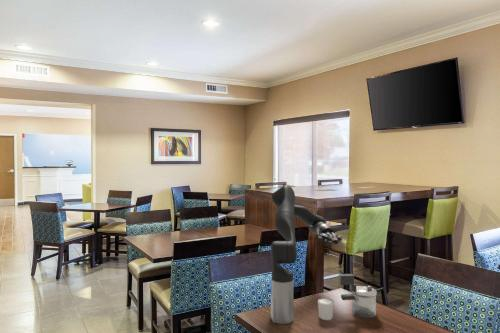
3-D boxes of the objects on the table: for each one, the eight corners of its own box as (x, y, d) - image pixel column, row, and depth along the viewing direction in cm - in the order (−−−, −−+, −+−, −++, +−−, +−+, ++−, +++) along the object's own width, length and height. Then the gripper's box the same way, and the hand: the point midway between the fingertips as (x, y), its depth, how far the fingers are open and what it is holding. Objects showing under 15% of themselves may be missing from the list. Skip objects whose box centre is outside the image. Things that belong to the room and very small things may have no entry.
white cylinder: (334, 321, 153) (334, 304, 153) (317, 320, 154) (317, 303, 154) (333, 314, 160) (333, 298, 159) (317, 313, 161) (317, 297, 161)
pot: (346, 319, 155) (346, 298, 155) (338, 309, 165) (338, 289, 165) (380, 317, 156) (380, 296, 156) (369, 308, 166) (369, 288, 166)
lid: (343, 297, 154) (343, 279, 154) (335, 289, 165) (335, 271, 165) (380, 296, 156) (381, 277, 156) (370, 287, 166) (370, 270, 166)
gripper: (313, 224, 190) (323, 234, 172) (338, 226, 191) (350, 235, 174) (312, 238, 190) (321, 249, 173) (337, 240, 191) (348, 250, 174)
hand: (336, 242), depth 173 cm, fingers closed
